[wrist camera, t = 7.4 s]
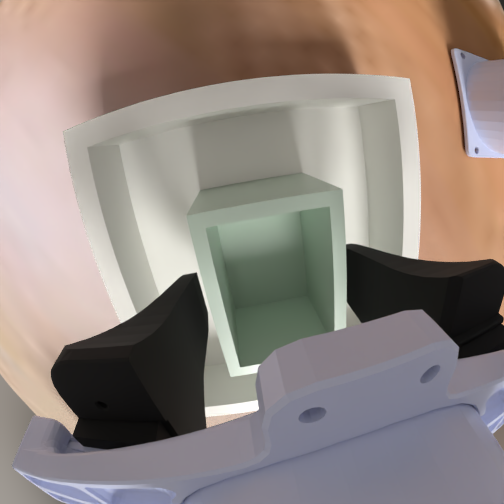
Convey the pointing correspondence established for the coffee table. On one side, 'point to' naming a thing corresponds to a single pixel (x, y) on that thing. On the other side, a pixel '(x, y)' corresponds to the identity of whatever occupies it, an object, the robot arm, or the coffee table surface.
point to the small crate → (270, 263)
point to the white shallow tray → (240, 180)
